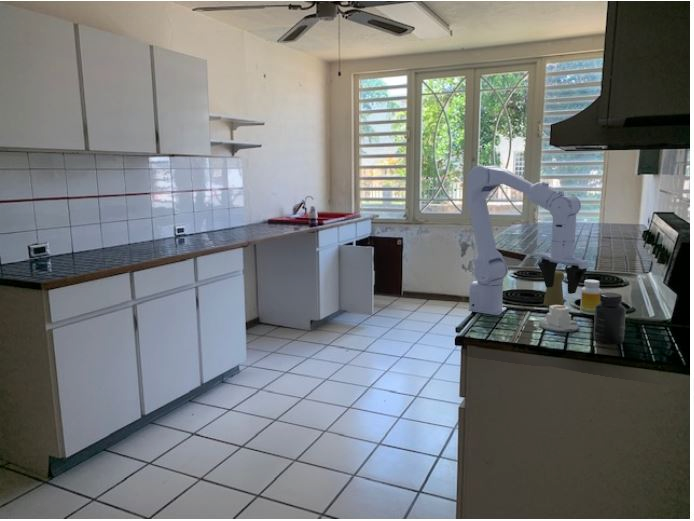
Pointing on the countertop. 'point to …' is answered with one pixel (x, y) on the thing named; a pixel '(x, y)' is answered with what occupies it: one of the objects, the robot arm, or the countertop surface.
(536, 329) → the countertop surface
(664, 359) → the countertop surface
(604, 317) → the supplement bottle
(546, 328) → the knobbed pot lid
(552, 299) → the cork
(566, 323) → the white faceted lump
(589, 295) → the supplement bottle
